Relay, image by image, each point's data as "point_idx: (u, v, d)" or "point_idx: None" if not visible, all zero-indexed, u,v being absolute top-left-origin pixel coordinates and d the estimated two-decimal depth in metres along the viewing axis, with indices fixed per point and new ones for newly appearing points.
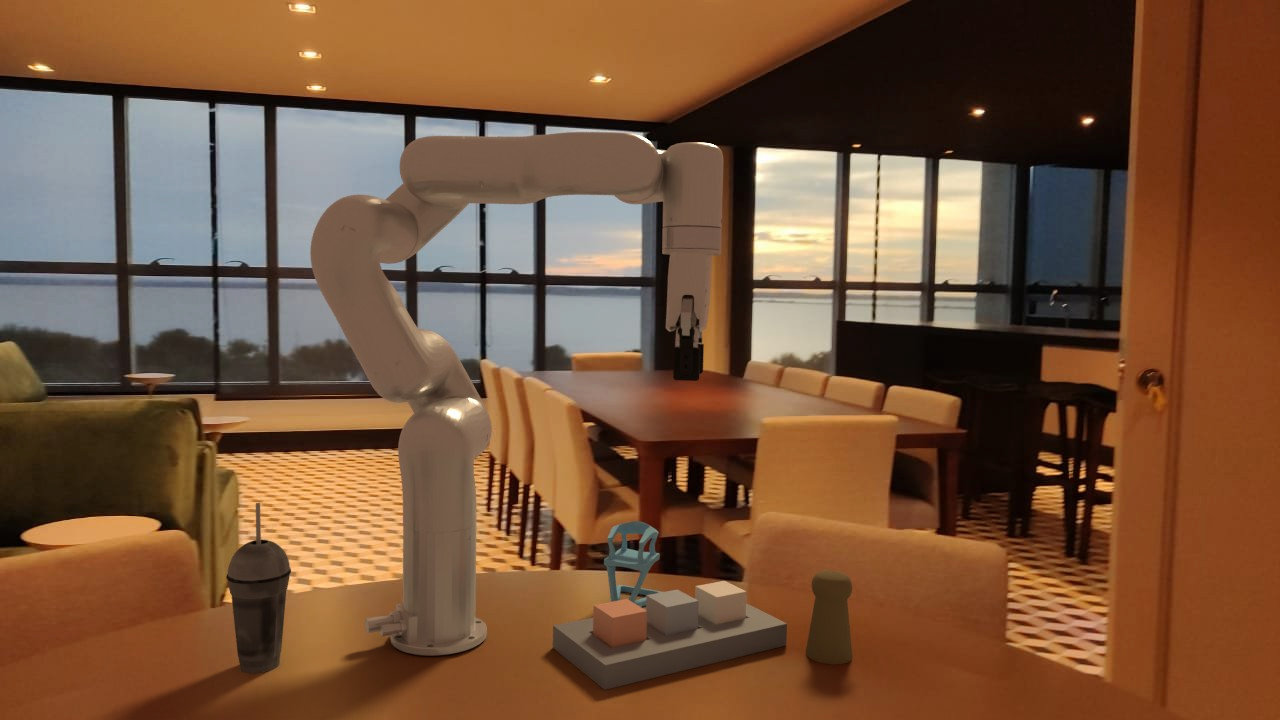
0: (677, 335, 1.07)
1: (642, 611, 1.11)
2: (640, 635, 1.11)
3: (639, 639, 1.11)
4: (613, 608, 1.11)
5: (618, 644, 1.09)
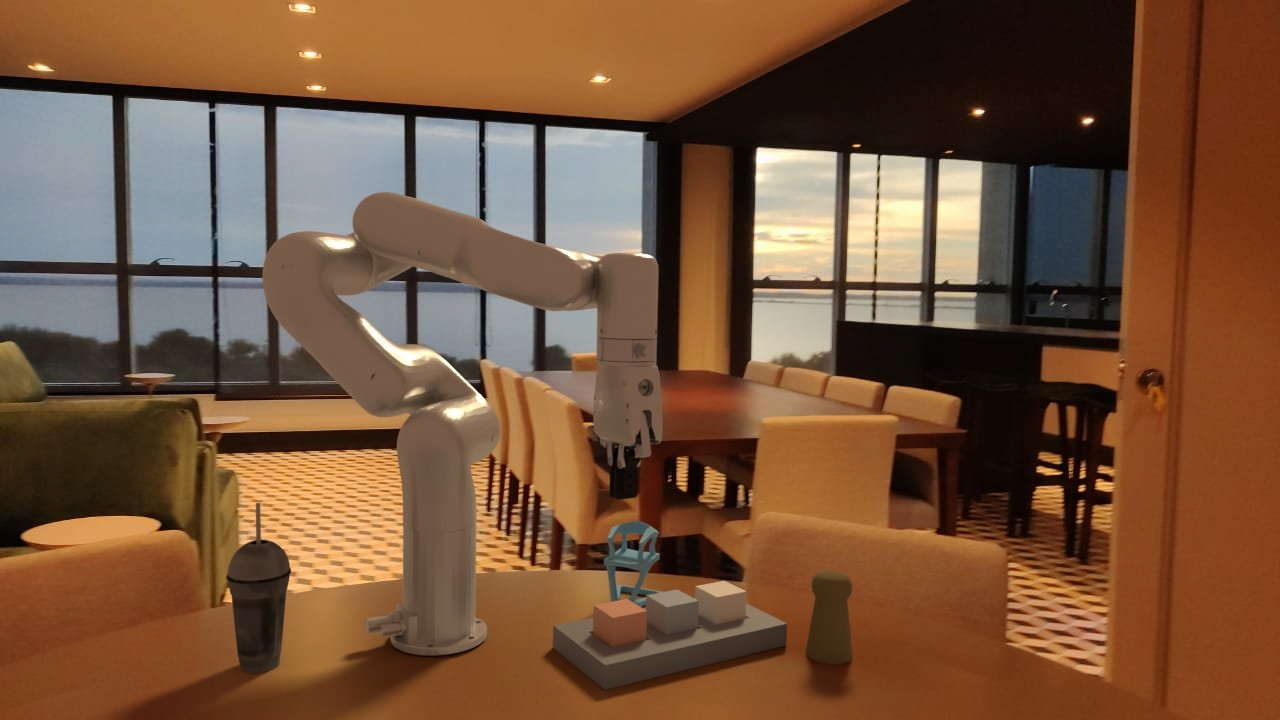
0: None
1: (642, 611, 1.11)
2: (640, 635, 1.11)
3: (639, 639, 1.11)
4: (613, 608, 1.11)
5: (618, 644, 1.09)
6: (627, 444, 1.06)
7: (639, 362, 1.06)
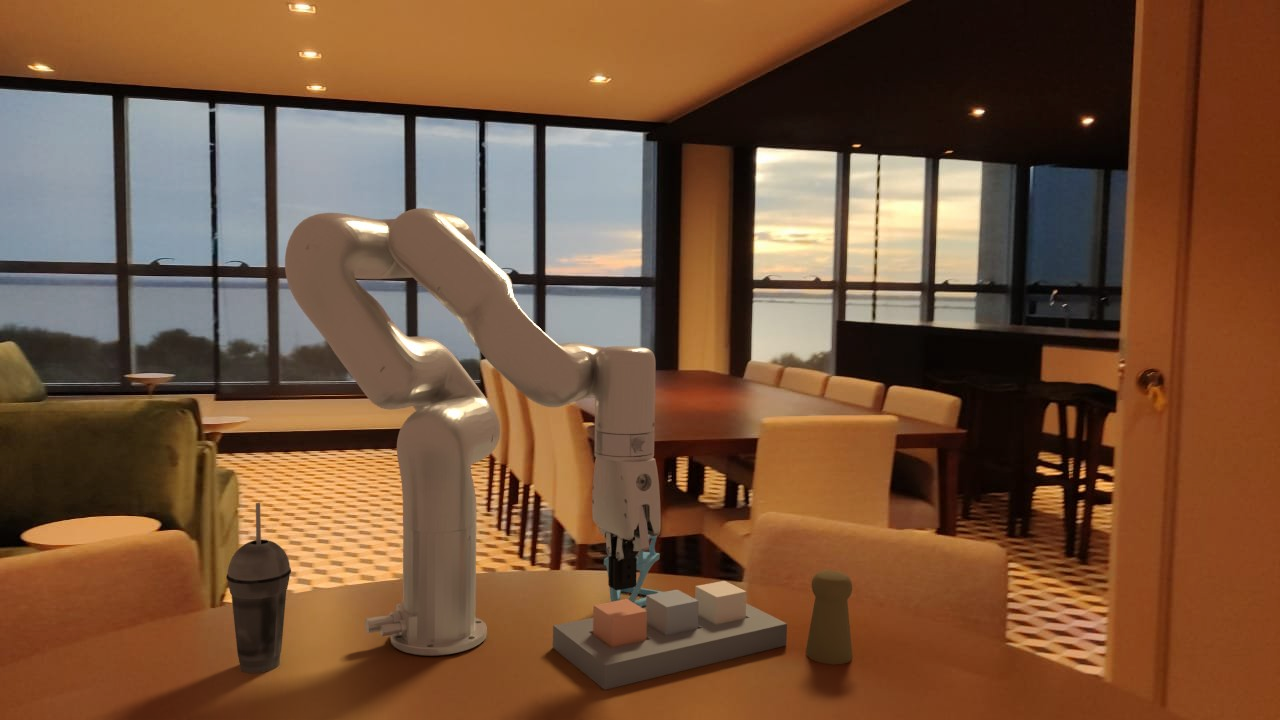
0: None
1: (642, 611, 1.11)
2: (640, 635, 1.11)
3: (639, 639, 1.11)
4: (613, 608, 1.11)
5: (618, 644, 1.09)
6: (625, 538, 1.07)
7: (637, 456, 1.07)
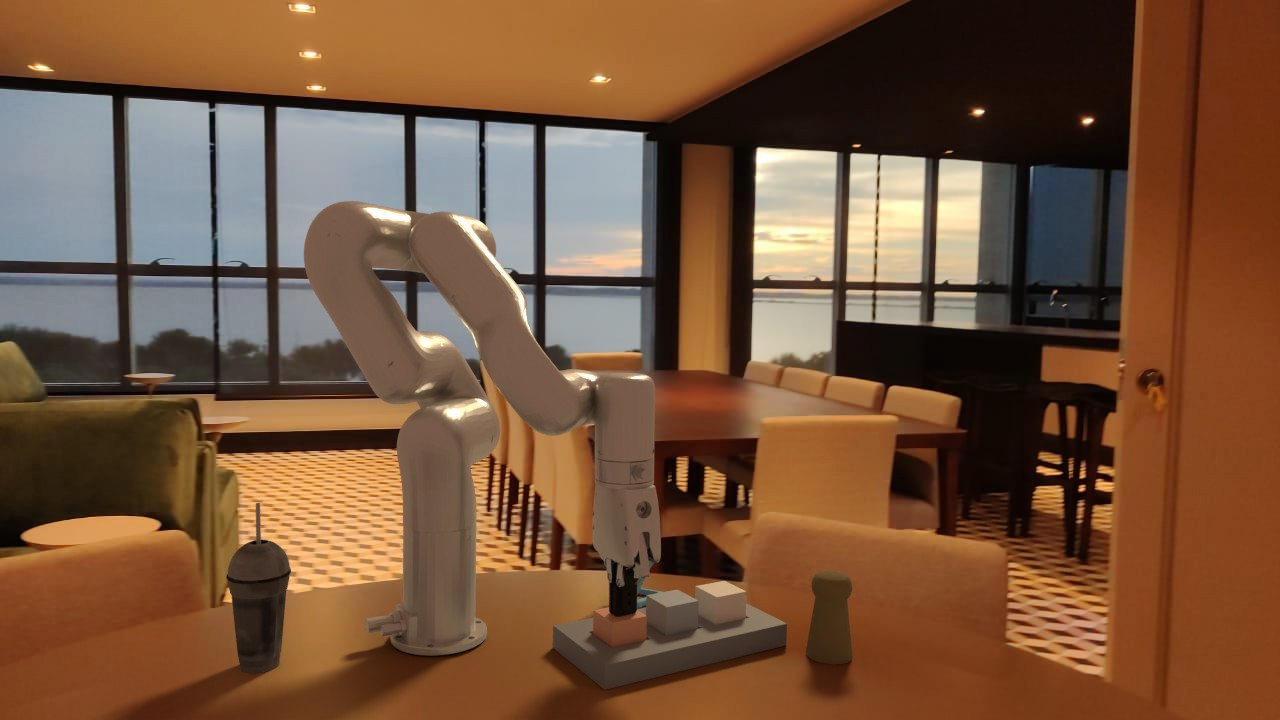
0: None
1: (642, 616, 1.11)
2: (640, 640, 1.11)
3: None
4: None
5: None
6: (626, 565, 1.07)
7: (637, 484, 1.07)
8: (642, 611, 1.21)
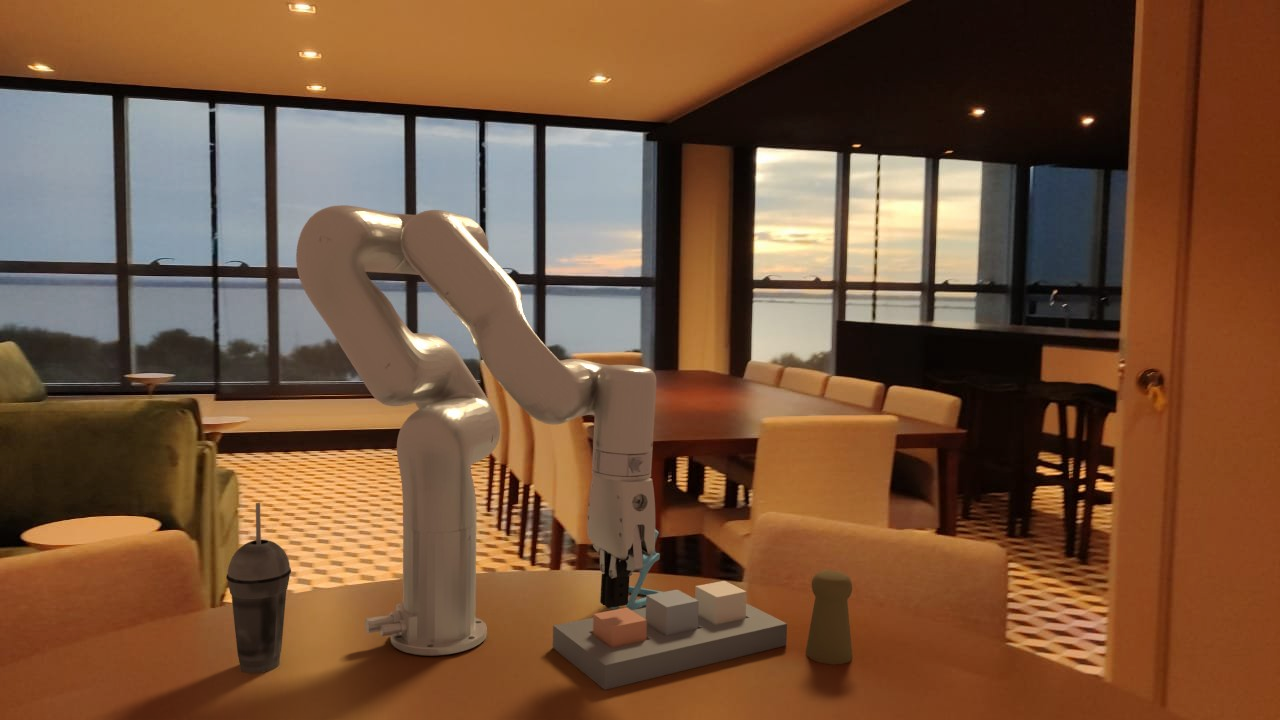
0: None
1: (642, 620, 1.11)
2: None
3: None
4: (613, 617, 1.11)
5: None
6: (619, 557, 1.07)
7: (634, 476, 1.07)
8: (642, 611, 1.21)
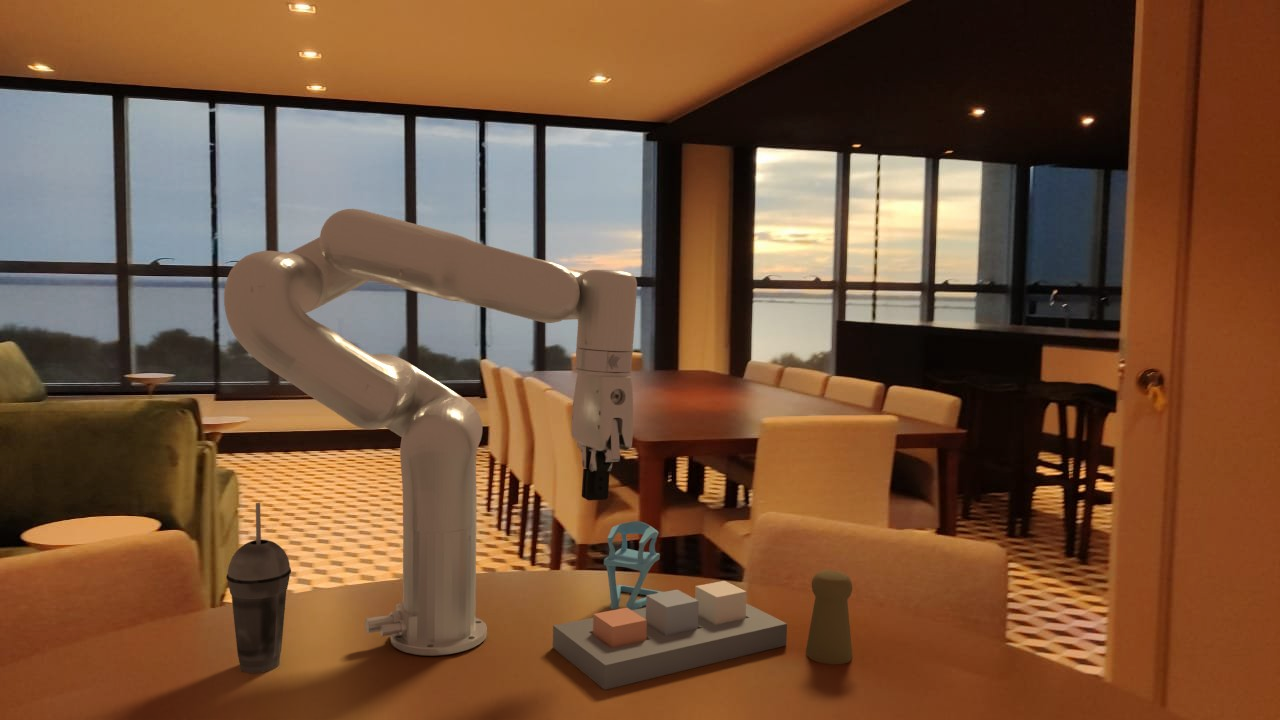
0: None
1: (642, 620, 1.11)
2: None
3: None
4: (613, 617, 1.11)
5: None
6: (598, 449, 1.13)
7: (613, 373, 1.13)
8: (642, 611, 1.21)
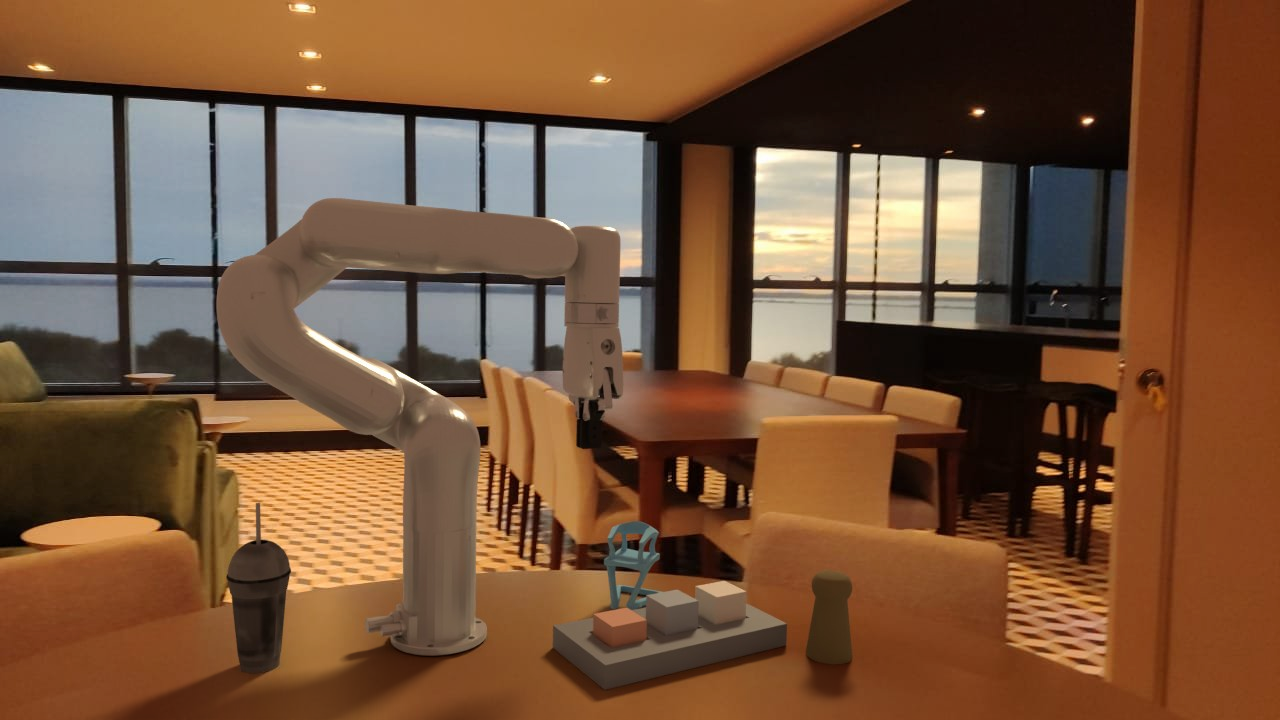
0: None
1: (642, 620, 1.11)
2: None
3: None
4: (613, 617, 1.11)
5: None
6: (591, 398, 1.18)
7: (602, 324, 1.18)
8: (642, 611, 1.21)
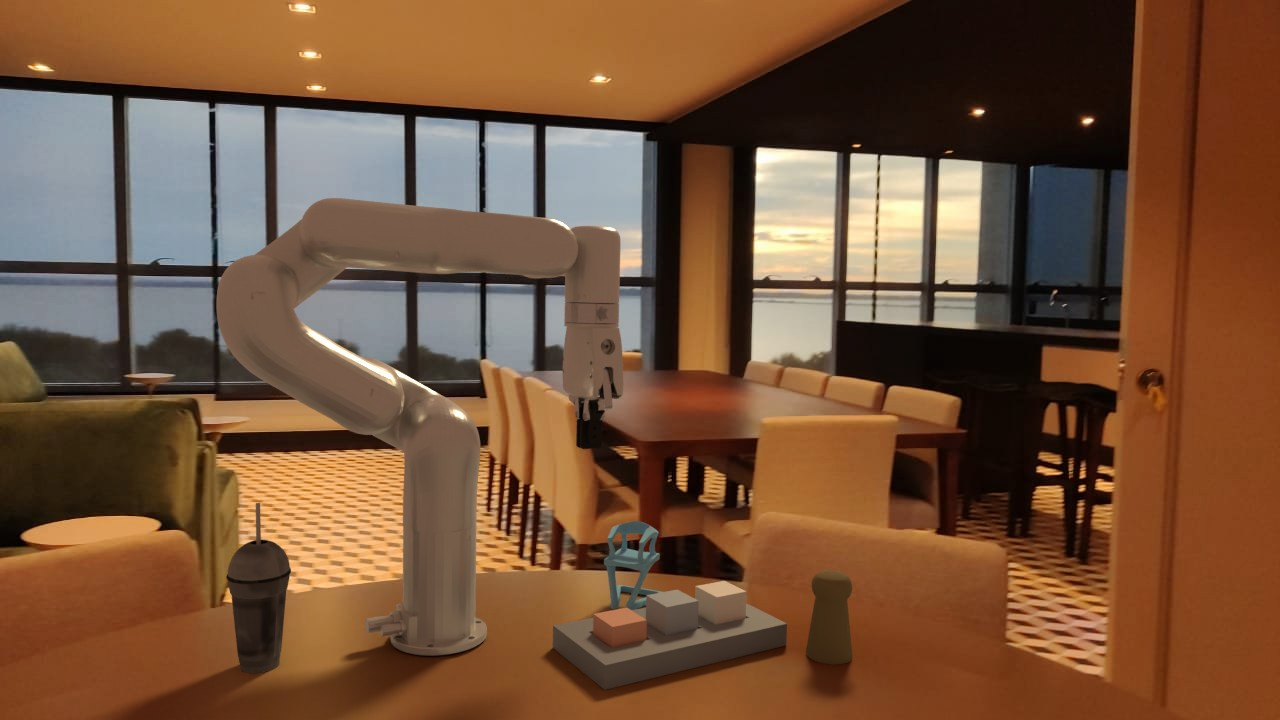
0: None
1: (642, 620, 1.11)
2: None
3: None
4: (613, 617, 1.11)
5: None
6: (591, 398, 1.18)
7: (602, 324, 1.18)
8: (642, 611, 1.21)
